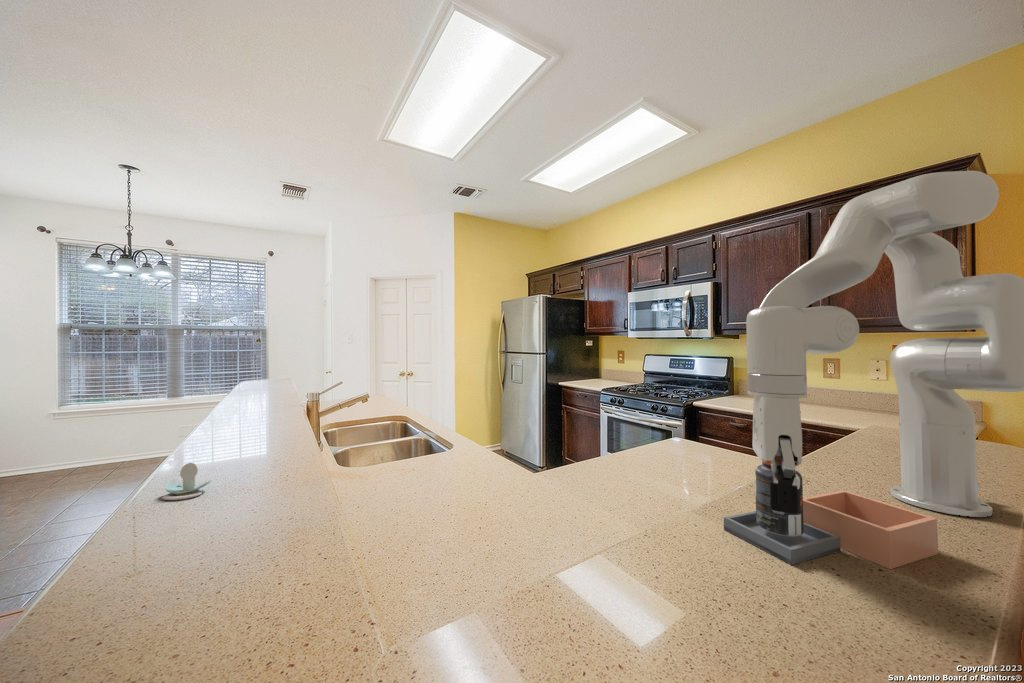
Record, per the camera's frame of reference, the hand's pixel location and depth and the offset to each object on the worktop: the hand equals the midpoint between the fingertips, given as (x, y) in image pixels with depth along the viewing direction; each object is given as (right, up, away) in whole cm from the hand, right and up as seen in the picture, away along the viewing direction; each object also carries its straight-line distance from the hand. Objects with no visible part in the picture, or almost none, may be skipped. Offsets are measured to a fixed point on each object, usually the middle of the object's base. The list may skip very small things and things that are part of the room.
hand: (778, 501), depth 56 cm
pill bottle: (0, -4, 0) cm, 4 cm away
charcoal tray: (0, -6, 0) cm, 6 cm away
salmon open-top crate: (+13, -6, -1) cm, 14 cm away
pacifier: (-108, -7, +17) cm, 109 cm away
